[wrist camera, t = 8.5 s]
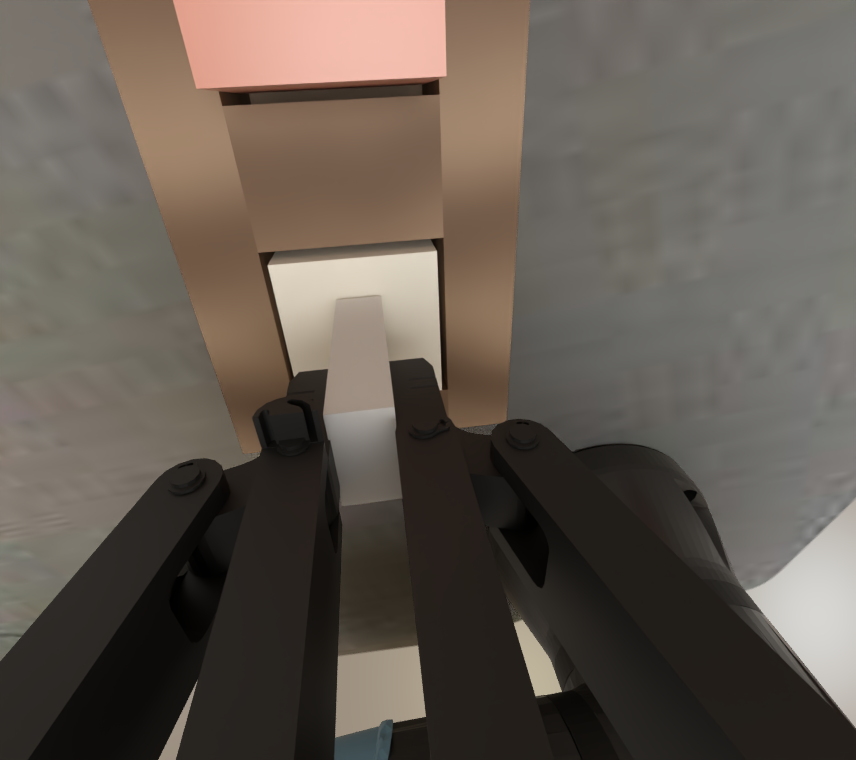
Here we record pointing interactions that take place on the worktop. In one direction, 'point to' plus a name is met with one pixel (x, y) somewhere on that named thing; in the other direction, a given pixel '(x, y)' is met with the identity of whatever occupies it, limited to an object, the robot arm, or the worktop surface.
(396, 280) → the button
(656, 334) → the worktop surface
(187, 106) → the mount
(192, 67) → the middle button
